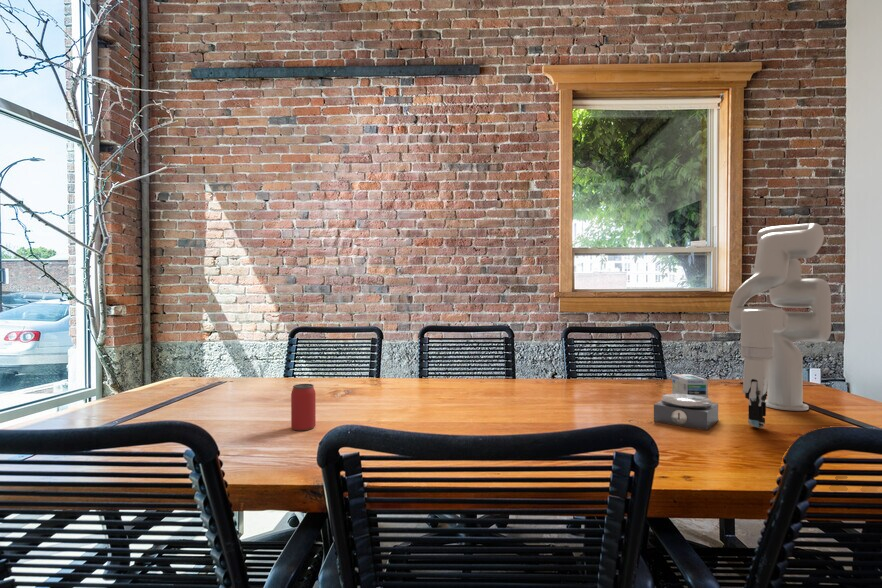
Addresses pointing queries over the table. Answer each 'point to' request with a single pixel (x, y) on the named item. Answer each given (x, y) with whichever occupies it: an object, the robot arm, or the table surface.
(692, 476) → the table surface
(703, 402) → the scale pan
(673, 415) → the scale
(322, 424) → the table surface
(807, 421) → the table surface
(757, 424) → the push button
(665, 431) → the table surface
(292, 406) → the beer can
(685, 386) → the light bulb box
